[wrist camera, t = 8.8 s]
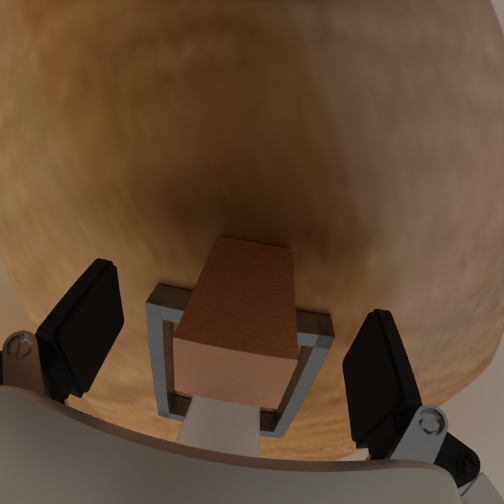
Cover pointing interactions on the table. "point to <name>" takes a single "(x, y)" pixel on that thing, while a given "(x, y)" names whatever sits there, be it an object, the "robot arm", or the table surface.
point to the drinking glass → (221, 427)
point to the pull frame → (237, 336)
